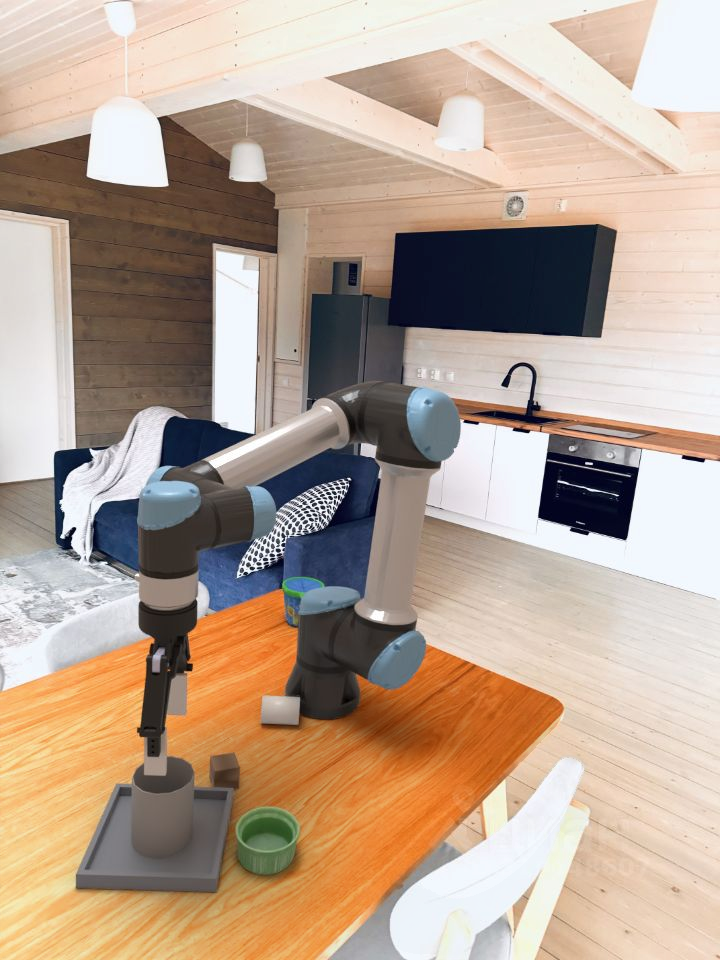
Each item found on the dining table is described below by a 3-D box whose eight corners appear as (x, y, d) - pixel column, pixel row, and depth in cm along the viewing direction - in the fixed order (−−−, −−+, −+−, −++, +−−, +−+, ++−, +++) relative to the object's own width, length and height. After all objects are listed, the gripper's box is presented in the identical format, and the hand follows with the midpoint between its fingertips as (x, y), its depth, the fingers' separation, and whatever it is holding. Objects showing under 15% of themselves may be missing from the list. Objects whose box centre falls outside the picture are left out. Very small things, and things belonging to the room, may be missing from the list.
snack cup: (322, 636, 167) (325, 597, 165) (278, 635, 166) (281, 595, 163) (320, 610, 182) (323, 574, 180) (280, 608, 181) (283, 572, 179)
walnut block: (233, 773, 114) (234, 752, 114) (238, 789, 111) (239, 767, 110) (209, 777, 113) (210, 756, 112) (213, 793, 109) (214, 771, 108)
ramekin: (243, 827, 103) (245, 802, 102) (302, 836, 102) (305, 811, 101) (225, 873, 94) (227, 846, 93) (290, 884, 93) (293, 856, 92)
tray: (233, 799, 108) (233, 788, 108) (216, 892, 91) (216, 878, 90) (116, 795, 107) (116, 783, 106) (75, 888, 89) (75, 874, 89)
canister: (299, 704, 127) (297, 729, 128) (300, 692, 132) (298, 717, 133) (261, 702, 127) (260, 728, 127) (263, 690, 132) (262, 715, 132)
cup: (201, 822, 102) (204, 763, 100) (176, 863, 94) (178, 799, 92) (148, 810, 103) (150, 751, 101) (119, 849, 95) (120, 786, 93)
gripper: (160, 564, 102) (160, 692, 107) (111, 642, 78) (112, 803, 83) (211, 566, 103) (208, 694, 108) (178, 644, 79) (175, 804, 84)
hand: (166, 741), depth 96 cm, fingers open, 13 cm apart
